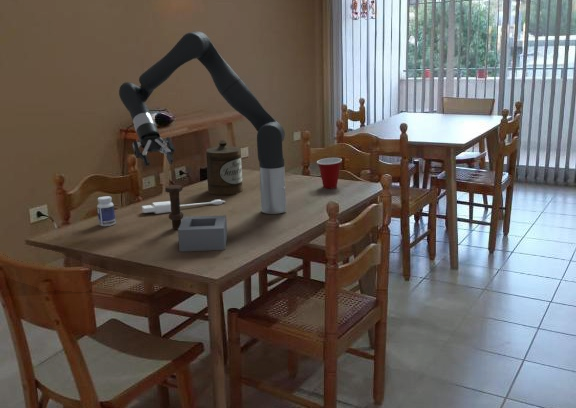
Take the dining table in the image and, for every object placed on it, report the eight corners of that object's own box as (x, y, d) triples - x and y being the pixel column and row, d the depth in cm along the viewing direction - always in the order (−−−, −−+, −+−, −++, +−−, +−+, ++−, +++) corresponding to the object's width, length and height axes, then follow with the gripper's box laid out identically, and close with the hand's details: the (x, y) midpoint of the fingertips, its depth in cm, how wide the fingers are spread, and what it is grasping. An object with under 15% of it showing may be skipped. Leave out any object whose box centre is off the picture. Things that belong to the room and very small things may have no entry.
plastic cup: (313, 185, 264) (313, 158, 261) (336, 183, 267) (336, 156, 264) (322, 191, 254) (321, 163, 251) (345, 188, 257) (345, 161, 254)
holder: (227, 235, 200) (226, 215, 199) (224, 249, 187) (223, 228, 185) (185, 236, 200) (183, 216, 198) (179, 251, 186) (177, 230, 185)
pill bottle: (118, 222, 218) (116, 196, 215) (109, 227, 213) (106, 200, 210) (105, 221, 220) (102, 195, 217) (95, 226, 215) (92, 199, 212)
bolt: (180, 231, 206) (177, 188, 202) (167, 230, 207) (163, 188, 203) (186, 226, 212) (183, 184, 208) (173, 225, 213) (170, 184, 209)
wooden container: (229, 196, 249) (226, 144, 243) (201, 193, 256) (197, 142, 251) (249, 188, 262) (247, 138, 256) (221, 185, 269) (218, 136, 263)
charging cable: (226, 207, 238) (226, 198, 237) (144, 215, 225) (144, 206, 224) (222, 204, 242) (222, 196, 242) (141, 211, 230) (141, 203, 229)
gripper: (128, 123, 213) (142, 160, 207) (166, 120, 220) (181, 155, 214) (125, 136, 219) (138, 172, 213) (162, 132, 226) (176, 167, 220)
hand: (159, 164), depth 213 cm, fingers open, 8 cm apart
